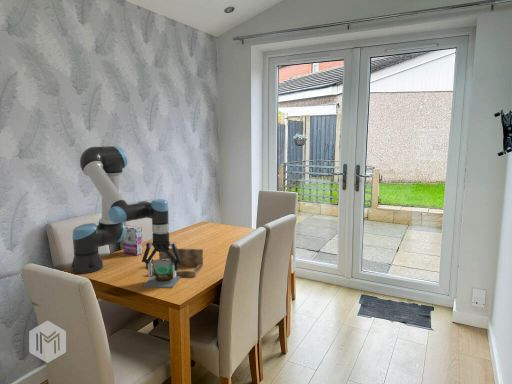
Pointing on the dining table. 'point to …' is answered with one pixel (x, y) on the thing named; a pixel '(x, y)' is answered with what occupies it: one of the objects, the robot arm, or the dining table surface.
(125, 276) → the dining table surface
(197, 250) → the wooden frame
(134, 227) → the candy bar box
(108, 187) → the robot arm
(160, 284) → the mat
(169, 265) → the food container
